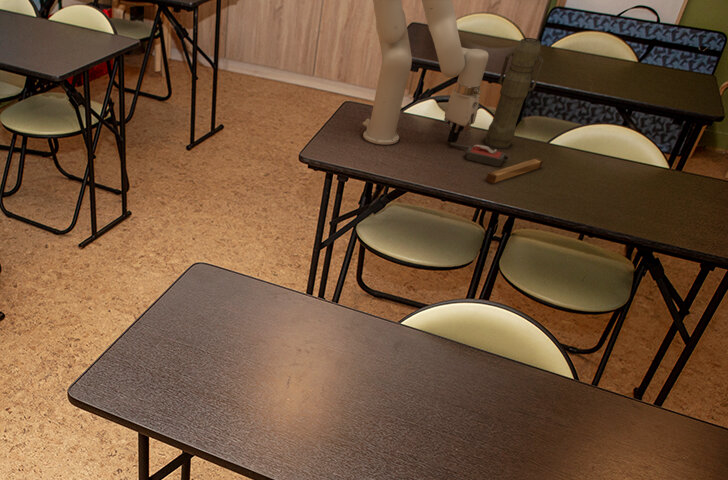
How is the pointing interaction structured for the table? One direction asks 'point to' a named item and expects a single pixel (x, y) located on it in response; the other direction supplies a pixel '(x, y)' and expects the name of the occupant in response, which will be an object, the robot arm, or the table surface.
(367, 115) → the table surface
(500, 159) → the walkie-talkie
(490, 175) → the bar
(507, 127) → the thermos
